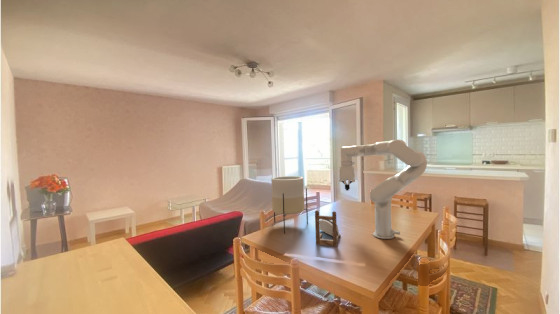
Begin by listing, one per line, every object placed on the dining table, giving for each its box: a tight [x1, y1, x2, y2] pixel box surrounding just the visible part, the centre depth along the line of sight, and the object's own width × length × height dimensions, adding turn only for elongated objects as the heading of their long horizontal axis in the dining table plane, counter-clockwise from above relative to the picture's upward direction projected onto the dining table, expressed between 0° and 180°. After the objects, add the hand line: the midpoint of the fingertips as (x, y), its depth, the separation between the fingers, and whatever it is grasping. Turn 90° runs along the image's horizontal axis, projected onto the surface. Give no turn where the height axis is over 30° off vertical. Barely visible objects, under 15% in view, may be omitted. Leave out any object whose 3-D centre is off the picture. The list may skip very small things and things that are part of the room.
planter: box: [270, 175, 309, 234], centre depth 170 cm, size 26×27×36 cm
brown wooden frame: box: [314, 209, 339, 248], centre depth 138 cm, size 12×11×20 cm
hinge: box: [319, 219, 342, 238], centre depth 151 cm, size 17×5×10 cm, turn 25°
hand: (347, 190), depth 160 cm, fingers closed
